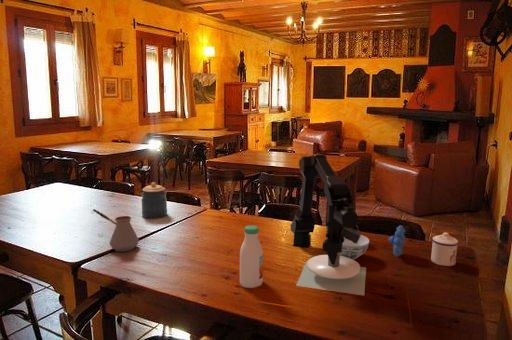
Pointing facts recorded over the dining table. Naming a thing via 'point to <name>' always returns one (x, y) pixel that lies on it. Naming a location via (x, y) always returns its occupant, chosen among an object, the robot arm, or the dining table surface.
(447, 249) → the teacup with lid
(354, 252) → the chinaware
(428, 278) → the dining table surface
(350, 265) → the lid
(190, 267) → the dining table surface
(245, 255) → the milk bottle
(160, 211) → the canister
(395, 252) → the blue lumpy piece
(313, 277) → the mat
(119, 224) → the coffee pot
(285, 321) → the dining table surface
